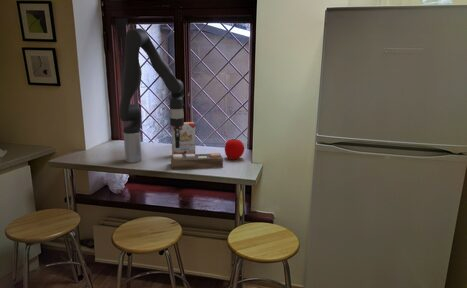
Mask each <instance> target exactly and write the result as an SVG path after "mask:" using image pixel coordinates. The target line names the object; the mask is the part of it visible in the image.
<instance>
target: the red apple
mask: <svg viewBox="0 0 467 288" xmlns="http://www.w3.org/2000/svg"><path fill="white" fill-rule="evenodd" d="M244 152H245V145H244V143H243V141H242V140H240V139H236V138H230V139H228V140H227V141H226V142H225V144H224V153H225V156H226V157H227V158H228V159H229V160H238V159H240V158H242V156H243V154H244Z"/></svg>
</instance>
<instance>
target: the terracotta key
mask: <svg viewBox="0 0 467 288" xmlns="http://www.w3.org/2000/svg"><path fill="white" fill-rule="evenodd" d="M209 154H210V157H211V158H213V157H220V155H219V152H210V153H209Z"/></svg>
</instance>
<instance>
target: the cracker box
mask: <svg viewBox="0 0 467 288" xmlns="http://www.w3.org/2000/svg"><path fill="white" fill-rule="evenodd" d="M173 128H175V126H171V155H173V154H182V155H186V154H196V123H195V122H194V121H185V122H184V125H183V126H180V127H179V128H181V133H180V141H179V145H180V147H179V148H176V147H175V137H174V131H173Z"/></svg>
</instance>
